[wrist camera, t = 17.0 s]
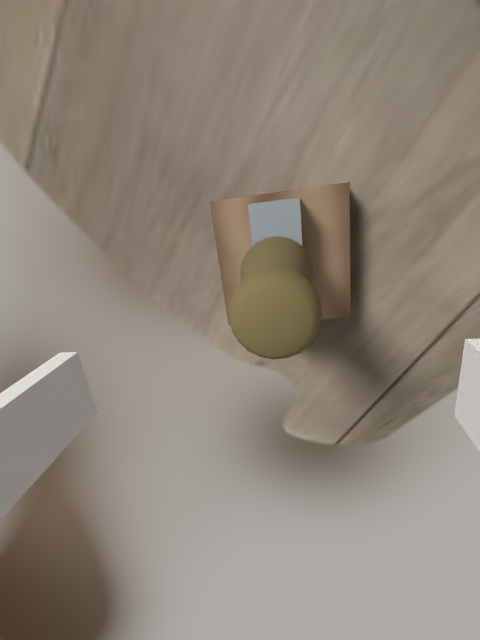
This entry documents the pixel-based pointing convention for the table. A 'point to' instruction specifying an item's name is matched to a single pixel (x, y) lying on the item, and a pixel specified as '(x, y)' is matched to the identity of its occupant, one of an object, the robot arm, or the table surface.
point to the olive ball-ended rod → (276, 300)
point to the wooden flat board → (317, 239)
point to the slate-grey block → (275, 220)
